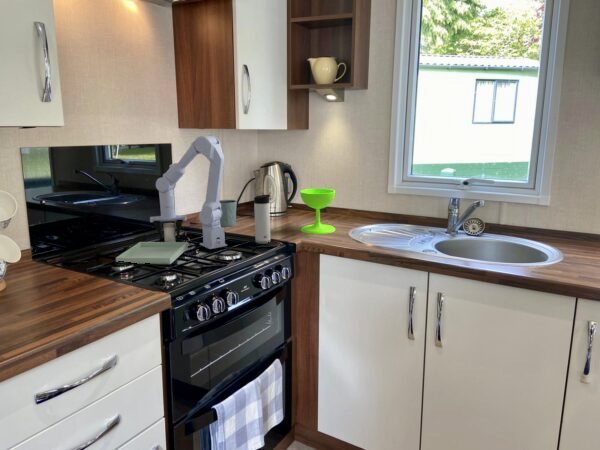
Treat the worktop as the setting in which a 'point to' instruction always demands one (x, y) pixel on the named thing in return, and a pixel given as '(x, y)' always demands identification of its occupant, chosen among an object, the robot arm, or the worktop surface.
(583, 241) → the worktop surface
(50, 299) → the worktop surface
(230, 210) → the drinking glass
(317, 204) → the wineglass
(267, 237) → the travel mug
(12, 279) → the worktop surface
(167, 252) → the tray
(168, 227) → the spice pot
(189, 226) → the worktop surface
